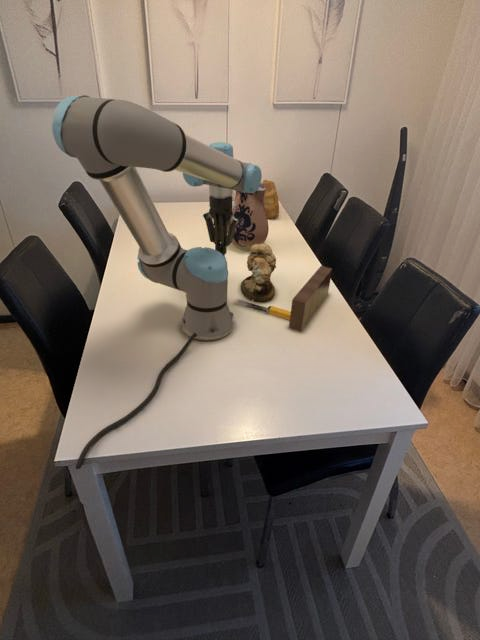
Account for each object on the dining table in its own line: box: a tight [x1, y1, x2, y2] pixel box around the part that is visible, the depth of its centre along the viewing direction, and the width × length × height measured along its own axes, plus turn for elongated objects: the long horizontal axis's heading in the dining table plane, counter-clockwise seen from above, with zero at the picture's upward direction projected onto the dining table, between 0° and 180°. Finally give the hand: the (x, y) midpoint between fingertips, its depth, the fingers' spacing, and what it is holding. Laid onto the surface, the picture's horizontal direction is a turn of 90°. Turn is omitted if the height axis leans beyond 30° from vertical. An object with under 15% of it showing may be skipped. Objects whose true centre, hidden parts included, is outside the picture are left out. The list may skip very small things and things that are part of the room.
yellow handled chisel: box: [235, 299, 291, 321], centre depth 125 cm, size 20×3×2 cm, turn 62°
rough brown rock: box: [261, 179, 280, 219], centre depth 202 cm, size 23×17×15 cm
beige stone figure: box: [240, 243, 277, 303], centre depth 132 cm, size 18×12×17 cm, turn 11°
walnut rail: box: [288, 265, 333, 332], centre depth 124 cm, size 26×4×10 cm, turn 152°
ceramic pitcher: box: [228, 182, 270, 251], centre depth 163 cm, size 18×21×25 cm
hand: (220, 261), depth 139 cm, fingers closed
